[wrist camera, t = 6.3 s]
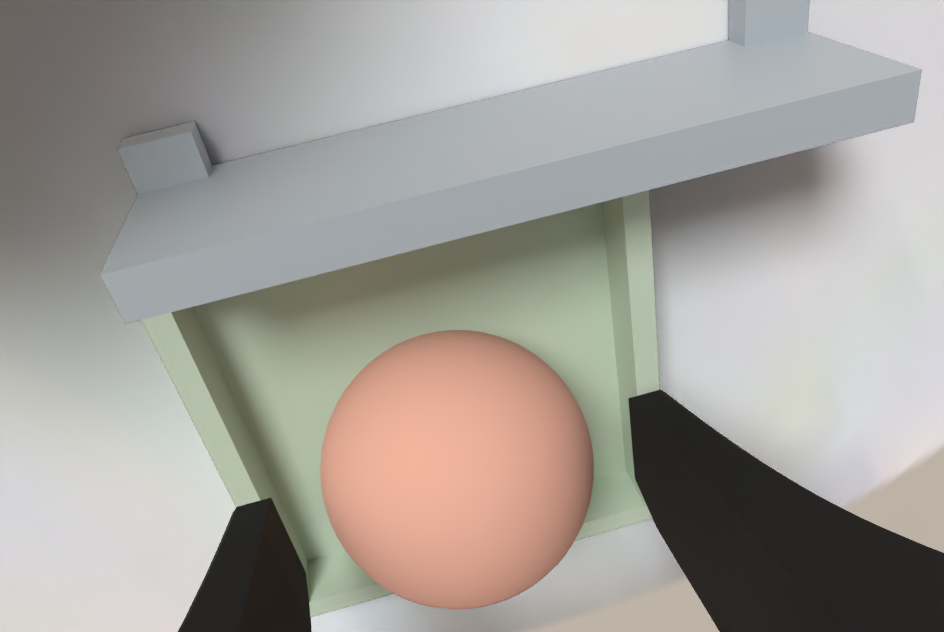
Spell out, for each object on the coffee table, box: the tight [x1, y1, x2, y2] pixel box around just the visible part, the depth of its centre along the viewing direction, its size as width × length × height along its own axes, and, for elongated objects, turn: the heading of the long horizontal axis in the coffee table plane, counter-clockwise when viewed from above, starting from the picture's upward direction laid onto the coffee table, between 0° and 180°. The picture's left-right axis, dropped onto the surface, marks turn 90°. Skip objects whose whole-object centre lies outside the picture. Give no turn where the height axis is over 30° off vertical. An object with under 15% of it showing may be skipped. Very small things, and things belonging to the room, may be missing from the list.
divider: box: [100, 0, 922, 324], centre depth 12 cm, size 12×2×4 cm, turn 100°
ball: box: [320, 330, 594, 609], centre depth 14 cm, size 5×5×5 cm
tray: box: [142, 190, 660, 618], centre depth 16 cm, size 9×9×2 cm
